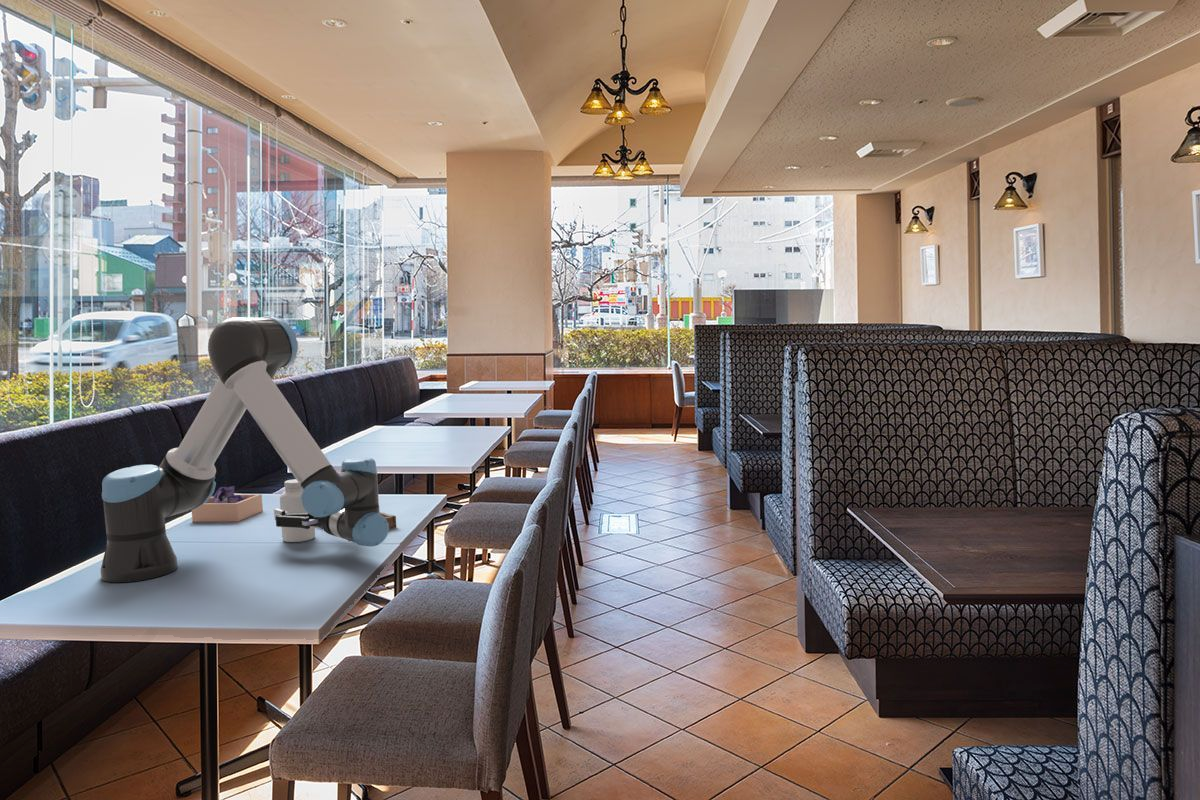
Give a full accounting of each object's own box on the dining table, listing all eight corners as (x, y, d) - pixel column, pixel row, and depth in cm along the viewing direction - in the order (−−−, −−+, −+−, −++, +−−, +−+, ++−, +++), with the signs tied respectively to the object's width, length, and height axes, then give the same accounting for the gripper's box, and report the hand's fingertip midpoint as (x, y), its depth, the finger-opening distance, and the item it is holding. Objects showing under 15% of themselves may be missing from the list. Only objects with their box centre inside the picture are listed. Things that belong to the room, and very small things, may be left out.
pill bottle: (316, 540, 215) (312, 481, 214) (282, 544, 212) (278, 485, 211) (314, 533, 222) (310, 476, 221) (282, 537, 219) (277, 479, 218)
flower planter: (238, 521, 240) (237, 503, 240) (192, 521, 242) (191, 504, 242) (262, 510, 253) (261, 494, 253) (218, 511, 255) (217, 494, 254)
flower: (194, 495, 246) (224, 480, 245) (214, 501, 254) (242, 486, 253) (201, 524, 242) (231, 508, 242) (221, 529, 250) (250, 514, 249)
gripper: (292, 548, 192) (254, 533, 207) (391, 526, 209) (349, 514, 224) (289, 515, 191) (251, 503, 206) (389, 496, 208) (347, 486, 223)
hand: (302, 509), depth 215 cm, fingers open, 13 cm apart
